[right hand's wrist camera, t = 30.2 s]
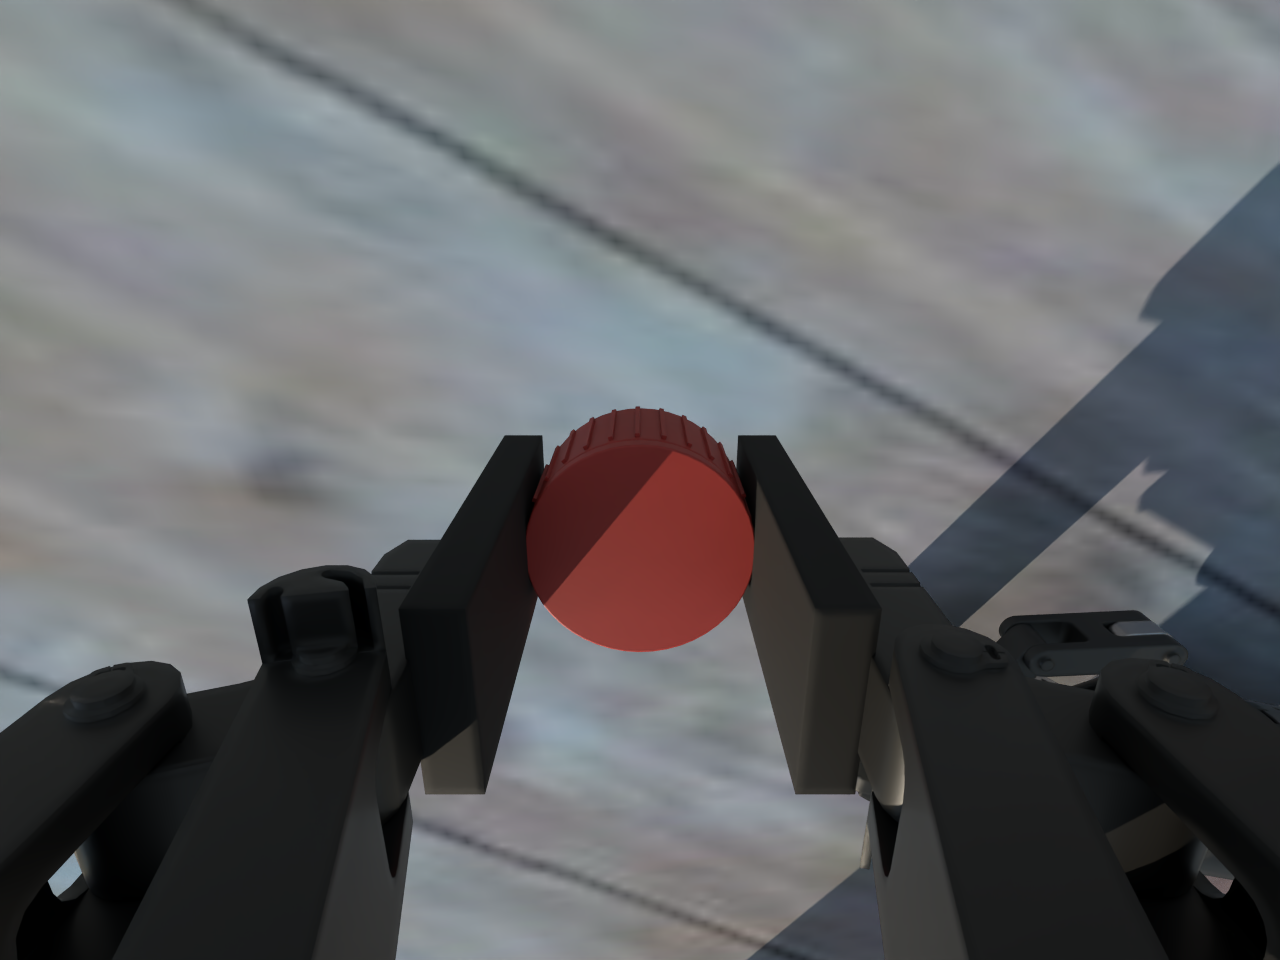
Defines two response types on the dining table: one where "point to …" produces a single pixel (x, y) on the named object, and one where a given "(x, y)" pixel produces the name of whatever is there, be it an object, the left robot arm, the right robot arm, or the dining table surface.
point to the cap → (640, 532)
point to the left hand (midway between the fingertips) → (870, 718)
